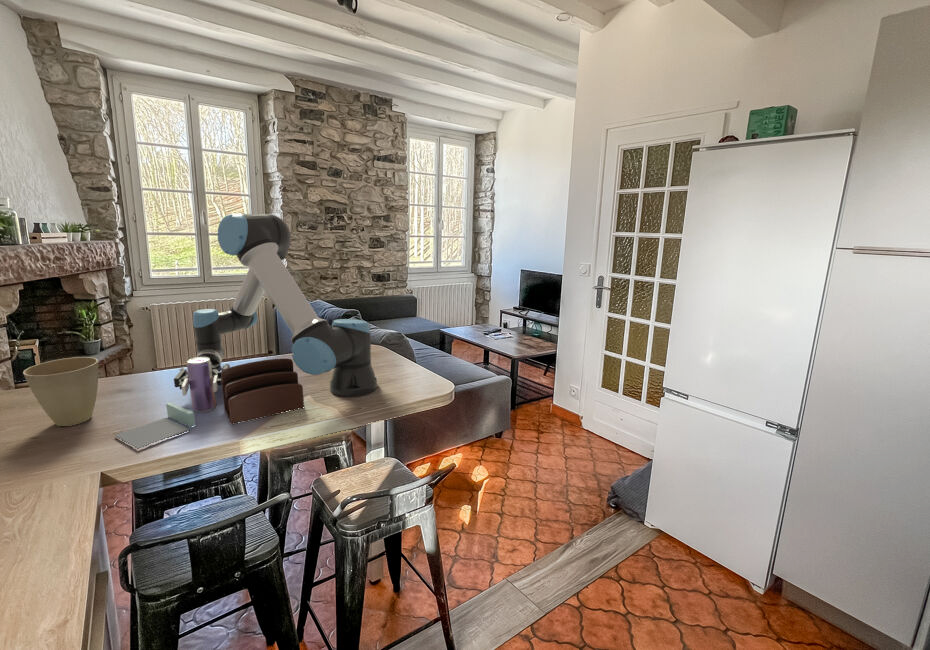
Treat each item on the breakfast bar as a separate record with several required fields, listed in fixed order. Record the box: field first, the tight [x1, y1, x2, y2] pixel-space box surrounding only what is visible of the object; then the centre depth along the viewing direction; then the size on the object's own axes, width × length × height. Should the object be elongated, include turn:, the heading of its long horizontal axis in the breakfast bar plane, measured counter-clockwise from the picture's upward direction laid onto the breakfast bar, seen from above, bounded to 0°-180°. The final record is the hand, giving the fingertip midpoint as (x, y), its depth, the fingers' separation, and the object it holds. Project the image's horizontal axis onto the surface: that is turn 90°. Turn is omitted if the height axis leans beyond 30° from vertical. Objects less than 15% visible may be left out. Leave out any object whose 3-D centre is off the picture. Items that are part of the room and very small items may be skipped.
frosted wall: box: [165, 401, 196, 428], centre depth 123 cm, size 12×1×4 cm, turn 58°
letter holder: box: [220, 358, 305, 425], centre depth 130 cm, size 10×20×14 cm, turn 126°
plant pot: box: [22, 356, 99, 427], centre depth 121 cm, size 15×15×16 cm
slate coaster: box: [114, 417, 190, 449], centre depth 116 cm, size 12×12×1 cm
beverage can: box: [186, 356, 217, 413], centre depth 130 cm, size 6×6×15 cm
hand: (199, 389), depth 125 cm, fingers open, 7 cm apart
